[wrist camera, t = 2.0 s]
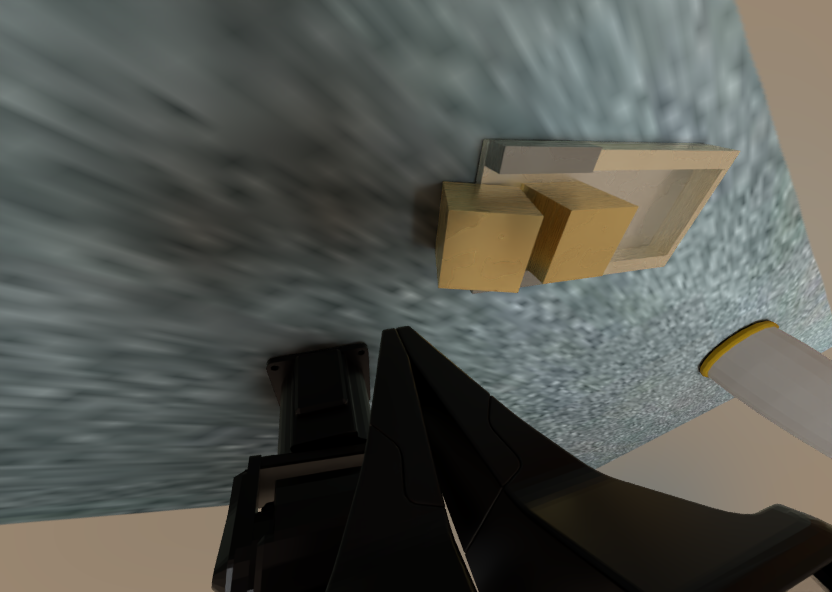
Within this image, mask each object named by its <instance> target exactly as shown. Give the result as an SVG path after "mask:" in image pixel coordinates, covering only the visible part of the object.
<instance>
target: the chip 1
mask: <svg viewBox="0 0 832 592" xmlns="http://www.w3.org/2000/svg"><path fill="white" fill-rule="evenodd" d="M543 217H544V216H543V215H542V214H541V213H540V211H539V210H538V209H537V208H536V207H535V205H534V204H533V203H532V202H531V201H530V200H529V198H528V197H527V196H526V195H525V194H524V193H523V191H522V190H521V189H520V188H519V187H515V186H502V185H488V184H474V183H460V182H446V181H443V186H442V194H441V203H440V211H439V220H438V228H437V236H436V245H435V255H436V267H437V278H438V288H448V289H465V290H481V291H498V292H515V293H518V291H519V288H520V285H521V282H522V279H523V276H524V273H525V270H526V267H527V264H528V261H529V258H530V255H531V252H532V249H533V247H534V244H535V241H536V238H537V235H538V232H539V229H540V226H541V223H542V220H543Z"/></svg>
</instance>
